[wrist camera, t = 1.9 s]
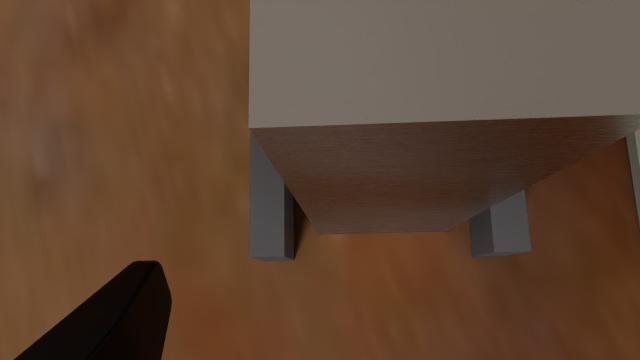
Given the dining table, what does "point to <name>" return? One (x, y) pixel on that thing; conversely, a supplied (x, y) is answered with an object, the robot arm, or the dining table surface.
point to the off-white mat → (635, 164)
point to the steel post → (435, 101)
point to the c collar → (278, 218)
